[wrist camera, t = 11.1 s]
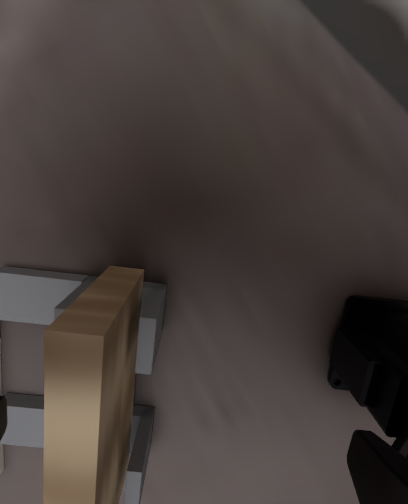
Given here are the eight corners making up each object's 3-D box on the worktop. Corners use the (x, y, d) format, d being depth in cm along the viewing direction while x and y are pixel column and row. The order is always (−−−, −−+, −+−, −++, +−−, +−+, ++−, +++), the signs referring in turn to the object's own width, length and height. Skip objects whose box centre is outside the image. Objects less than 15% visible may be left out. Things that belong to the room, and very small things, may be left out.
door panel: (128, 463, 22) (88, 623, 14) (99, 461, 22) (42, 619, 14) (144, 269, 19) (103, 336, 11) (110, 265, 19) (44, 330, 11)
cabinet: (167, 284, 20) (156, 319, 15) (147, 482, 23) (133, 562, 19) (-86, 255, 19) (-182, 282, 14) (-67, 463, 23) (-139, 540, 18)
